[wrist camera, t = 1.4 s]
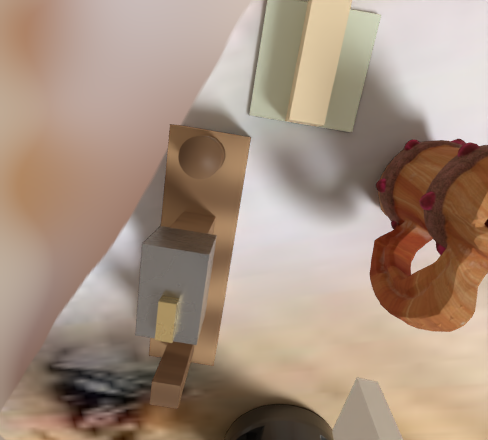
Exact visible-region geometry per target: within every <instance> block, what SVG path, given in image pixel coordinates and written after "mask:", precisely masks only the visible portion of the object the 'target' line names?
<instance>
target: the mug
mask: <svg viewBox="0 0 488 440" xmlns="http://www.w3.org/2000/svg"><path fill="white" fill-rule="evenodd" d="M376 188H377V190H378V196H379V202H380V206H381V210H382V211H383V212H384V214H385V215H386V216H388V217H389V219H390V220H391V221H392V222H391V226H392V228H393V229H394V230H393V231H391V232H389V233H387V234H385V235H383V236H381V237H379V238H378V239H376V240H375V242H374V248H373V254H372V259H371V268H370V280H371V284H372V287H373V291H374V293H375V295H376V297H377V299H378V300H379V302H380V304H381V305H382V306H383V307H384V308H385V309H386V310H387V311H388V312H389V313H390V314H392V315H394V316H395V317H397V318H399V319H401V320H403V321H404V322H405V323H407V324H408V325H410V326H413V327H416V328H419V329H424V330H429V331H445V332H451V331H453V330H456V329H458V328H460V327H462V326H464V325H465V324H466V323H467V322H468V321H469V320H470V318H471V317H472V316H473V314H474V312H475V307H476V299H477V291H478V286H479V284H480V283H481V281H482V280H483V278H484V277H485V275H486V274H487V273H488V145H483V146H478V145H477V144H474V143H465V142H464V141H463V140H461V139H456V140H453V141H451V142H450V141H443V140H440V141H425V142H420V143H419V141H417V140H410V141H408V142H407V143H406V145H405V148H404V149H403V150H402V151H401V152H400V153H399V154H397V155H396V156H395V157H394V158H393V160H392V161H391V162H390V163H389V164H388V166H387V167H386V169H385V171H384V172H383V174H382V176H381V178H380V180H379V181H378V182H377V183H376ZM432 239H434V240H435V241H436V248H437V251H438V252H439V254H440V255H441V256H440V257H439V258H438V260H437V261H436V262H434V263H433V264H432V265H429V266H427V267H425V268H423V269H421V270H419V271H417V272H415V273H414V274H412V275H411V270H410V268H411V261H412V260H413V258H414V256H415V253H416V252H417V251H418V250H419V249H420V248H422V247H423V246H424V245H425V244H426V243H428V242H429V241H431V240H432Z"/></svg>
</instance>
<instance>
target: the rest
mask: <svg viewBox="0 0 488 440" xmlns="http://www.w3.org/2000/svg"><path fill="white" fill-rule="evenodd" d="M351 3H352V0H309V1H308V2H305V1H299V0H267V6H266V12H265V19H264V25H263V31H262V38H261V44H260V50H259V57H258V63H257V69H256V75H255V82H254V88H253V94H252V101H251V107H250V113H249V115H251V116H257V117H263V118H268V119H274V120H280V121H286V122H292V123H298V124H304V125H310V126H316V127H322V128H328V129H333V130H339V131H345V132H352V130H353V126H354V122H355V118H356V114H357V110H358V106H359V102H360V98H361V94H362V90H363V86H364V82H365V78H366V74H367V70H368V66H369V62H370V58H371V54H372V50H373V46H374V42H375V38H376V34H377V30H378V26H379V22H380V18H381V15H380V14H374V13H368V12H363V11H357V10H351V9H350V8H351Z"/></svg>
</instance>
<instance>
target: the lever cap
mask: <svg viewBox="0 0 488 440" xmlns="http://www.w3.org/2000/svg"><path fill="white" fill-rule="evenodd" d="M216 237H217V235H213V234H207V233H201V232H195V231H188V230H182V229H176V228H170V227H164V226H160V227H159V228H158V229H157V230H156V231H155V232H154V233H153V234H152V235H151V236H150V237H149V238H148V239H147V240H146V241H145V242H144V243H143V244H142V254H141V267H140V281H139V294H138V307H137V320H136V333H135V335H137V336H143V337H149V338H155V340H157V341H163V342H169V343H172V342H173V341H174V342H180V343H186V344H193V345H197V342H198V338H199V335H200V331H201V327H202V324H203V320H204V317H205V312H206V306H207V299H208V292H209V285H210V278H211V271H212V264H213V257H214V251H215V244H216Z"/></svg>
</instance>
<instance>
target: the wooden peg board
mask: <svg viewBox="0 0 488 440" xmlns="http://www.w3.org/2000/svg"><path fill="white" fill-rule="evenodd" d="M250 140H251V137H247V136H241V135H235V134H229V133H223V132H217V131H211V130H205V129H199V128H194V127H188V126H182V125H172V124H170V131H169V142H168V153H167V164H166V175H165V186H164V196H163V207H162V218H161V226H164V227H170V228H176V229H182V230H188V231H195V232H201V233H207V234H213V235H217V237H216V244H215V251H214V257H213V264H212V271H211V278H210V285H209V292H208V299H207V306H206V312H205V317H204V320H203V324H202V327H201V331H200V335H199V338H198V342H197V345H193V344H186V343H180V342H174V341H173V342H172V343H169V342H163V341H157V340H155V338H150V349H149V356H155V357H162V358H161V361H160V363H159V366H158V368H157V370H156V373H155V375H154V378H153V380H152V386H151V396H150V405H156V406H163V407H169V408H175V409H178V406H179V403H180V399H181V396H182V392H183V388H184V385H185V381H186V378H187V374H188V371H189V367H190V363H191V362H193V363H199V364H205V365H211V366H213V365H214V359H215V354H216V348H217V343H218V337H219V331H220V324H221V318H222V312H223V306H224V300H225V294H226V288H227V281H228V275H229V269H230V263H231V257H232V251H233V245H234V238H235V232H236V226H237V220H238V214H239V208H240V202H241V195H242V189H243V183H244V177H245V171H246V165H247V159H248V152H249V146H250Z"/></svg>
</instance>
